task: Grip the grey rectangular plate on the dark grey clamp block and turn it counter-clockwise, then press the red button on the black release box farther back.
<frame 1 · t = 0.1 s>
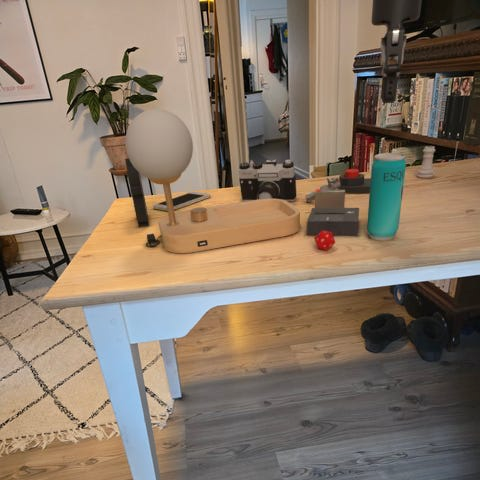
hand: (387, 101, 74), 23 cm above the table, tool pointing down, fingers open, 8 cm apart
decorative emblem: (143, 222, 102), on the table
release box: (358, 188, 111), on the table
beverage can: (381, 237, 80), on the table
clamp block: (333, 228, 86), on the table
elephant figurine: (324, 203, 103), on the table
lamp: (222, 234, 89), on the table
smartphone: (182, 203, 114), on the table
camera: (266, 204, 107), on the table
grey rectangular plate: (329, 201, 85), point 5 cm above the table, hinge at 0.0°
rook chess piece: (425, 177, 116), on the table
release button: (351, 173, 110), point 4 cm above the table, slide at 0.1 cm
die: (324, 249, 77), on the table
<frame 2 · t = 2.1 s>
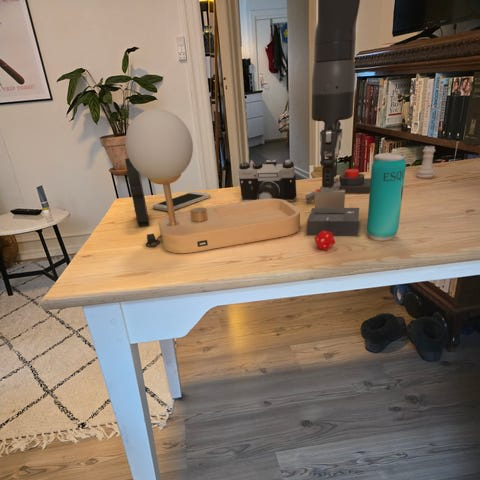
hand: (329, 181, 83), 9 cm above the table, tool pointing down, fingers open, 8 cm apart
nothing on the table moved.
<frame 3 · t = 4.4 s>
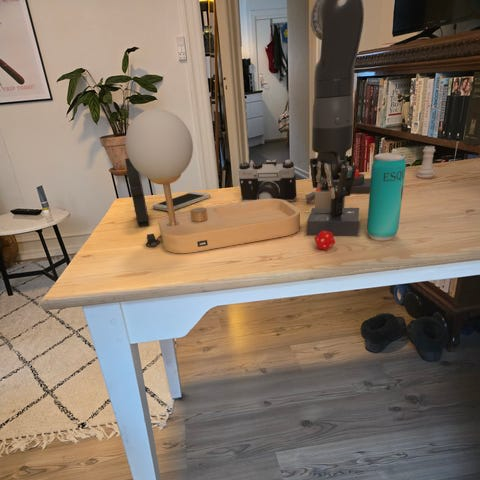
hand: (329, 212, 85), 3 cm above the table, tool pointing down, fingers open, 4 cm apart
grey rectangular plate: (329, 201, 85), point 5 cm above the table, hinge at 1.2°
everything else where it was.
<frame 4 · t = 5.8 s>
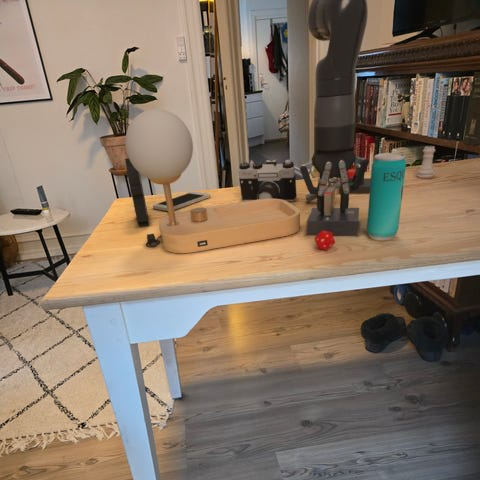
hand: (332, 211, 86), 3 cm above the table, tool pointing down, fingers open, 3 cm apart
grey rectangular plate: (329, 201, 85), point 5 cm above the table, hinge at 86.5°
everything else where it was.
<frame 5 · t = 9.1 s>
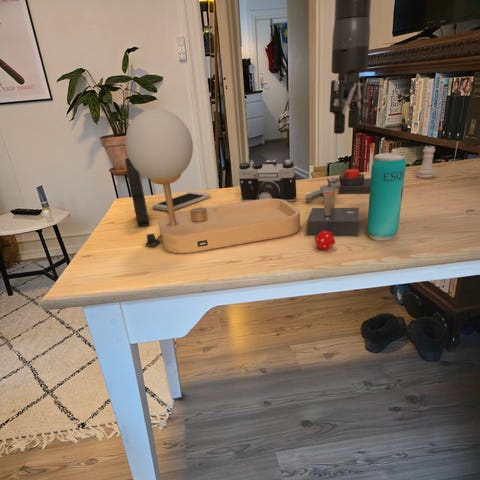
hand: (346, 130, 94), 16 cm above the table, tool pointing down, fingers open, 8 cm apart
nothing on the table moved.
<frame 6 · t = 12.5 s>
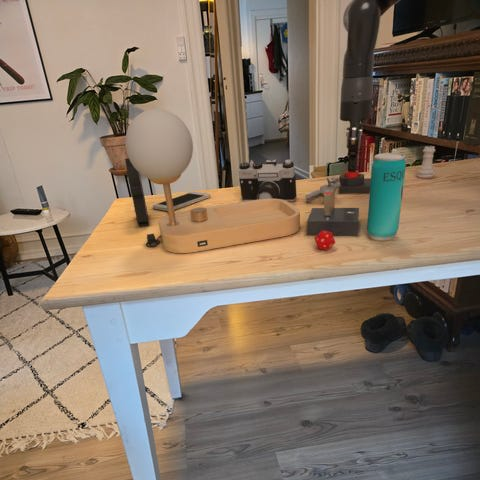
hand: (352, 171, 109), 5 cm above the table, tool pointing down, fingers closed
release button: (351, 174, 110), point 4 cm above the table, slide at -0.2 cm, touching gripper
everything else where it was.
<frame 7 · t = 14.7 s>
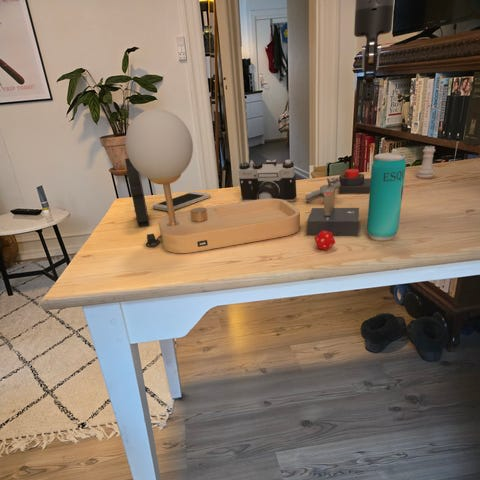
hand: (368, 101, 93), 22 cm above the table, tool pointing down, fingers closed
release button: (351, 173, 110), point 4 cm above the table, slide at 0.1 cm
everything else where it was.
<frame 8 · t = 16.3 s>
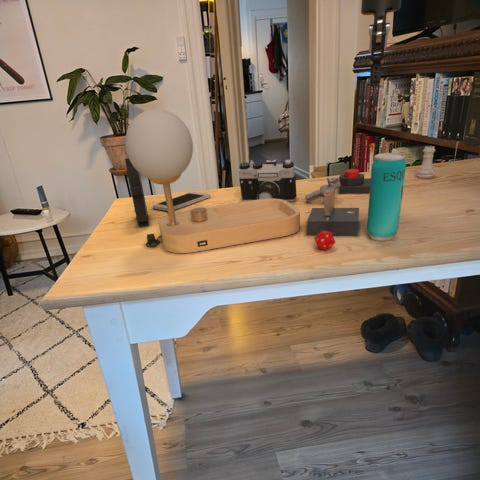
hand: (374, 84, 88), 25 cm above the table, tool pointing down, fingers closed
nothing on the table moved.
at the end: grey rectangular plate at +86° (first picture: +0°); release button pushed in 1.1 cm at the most during the clip, back to where it started at the end; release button slide at 0.1 cm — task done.
